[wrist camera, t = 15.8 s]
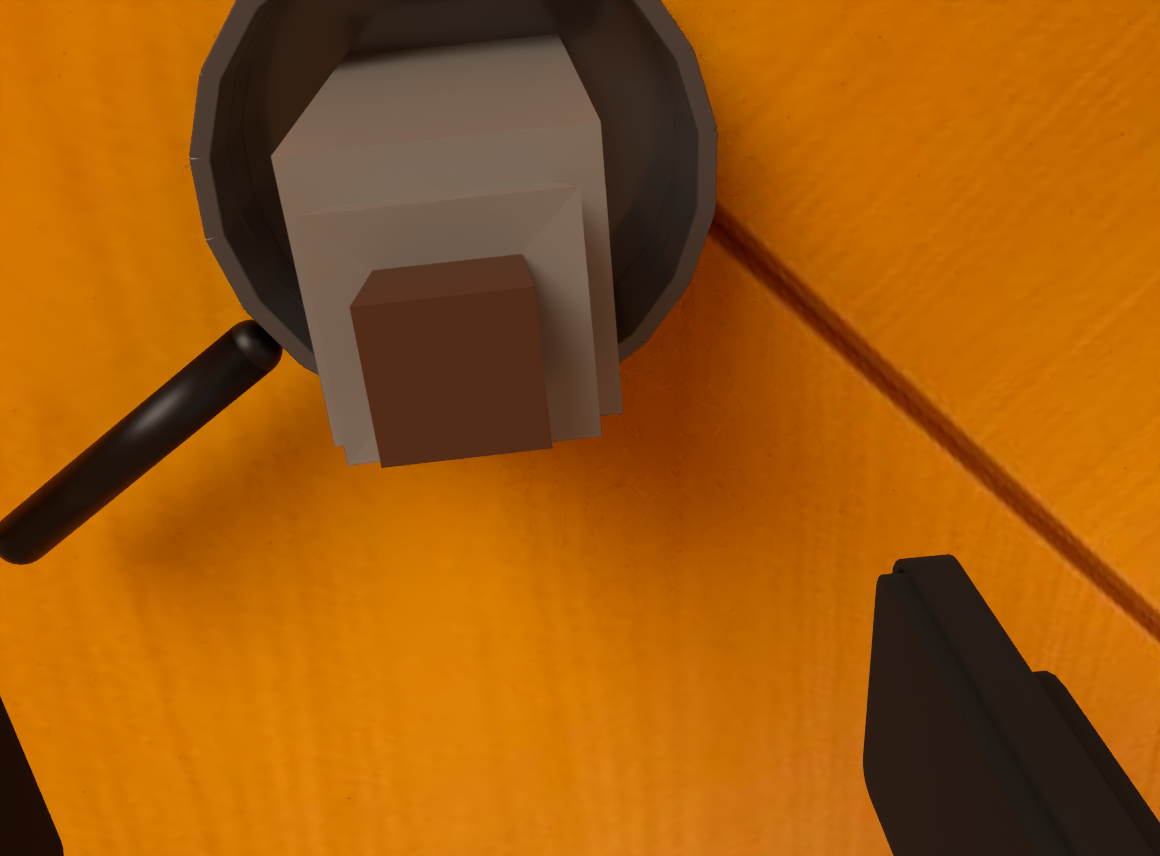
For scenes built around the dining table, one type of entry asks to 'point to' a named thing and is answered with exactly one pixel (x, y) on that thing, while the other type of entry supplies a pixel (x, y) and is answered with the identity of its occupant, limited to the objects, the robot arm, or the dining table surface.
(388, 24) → the pan
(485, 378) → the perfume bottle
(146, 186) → the dining table surface
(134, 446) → the pan handle
